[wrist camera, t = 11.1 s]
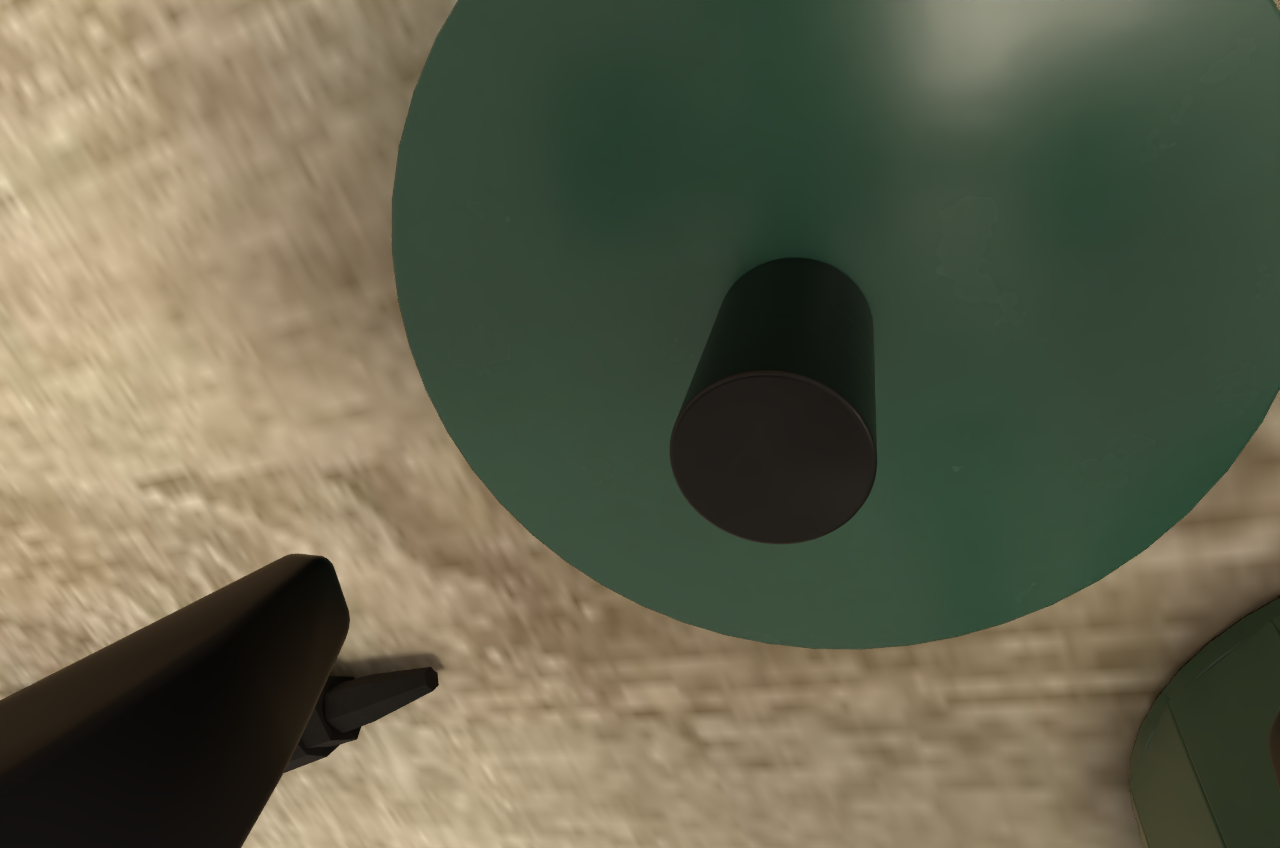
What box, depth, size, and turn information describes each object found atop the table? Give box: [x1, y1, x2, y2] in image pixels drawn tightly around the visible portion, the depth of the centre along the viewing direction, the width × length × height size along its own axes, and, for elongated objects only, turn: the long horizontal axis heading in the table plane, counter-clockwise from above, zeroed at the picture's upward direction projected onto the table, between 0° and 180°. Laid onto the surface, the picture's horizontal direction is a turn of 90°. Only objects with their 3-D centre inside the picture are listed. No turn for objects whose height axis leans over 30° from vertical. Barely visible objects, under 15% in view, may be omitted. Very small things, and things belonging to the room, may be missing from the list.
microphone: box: [284, 667, 439, 773], centre depth 25 cm, size 6×6×20 cm
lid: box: [392, 0, 1280, 649], centre depth 12 cm, size 15×15×5 cm
